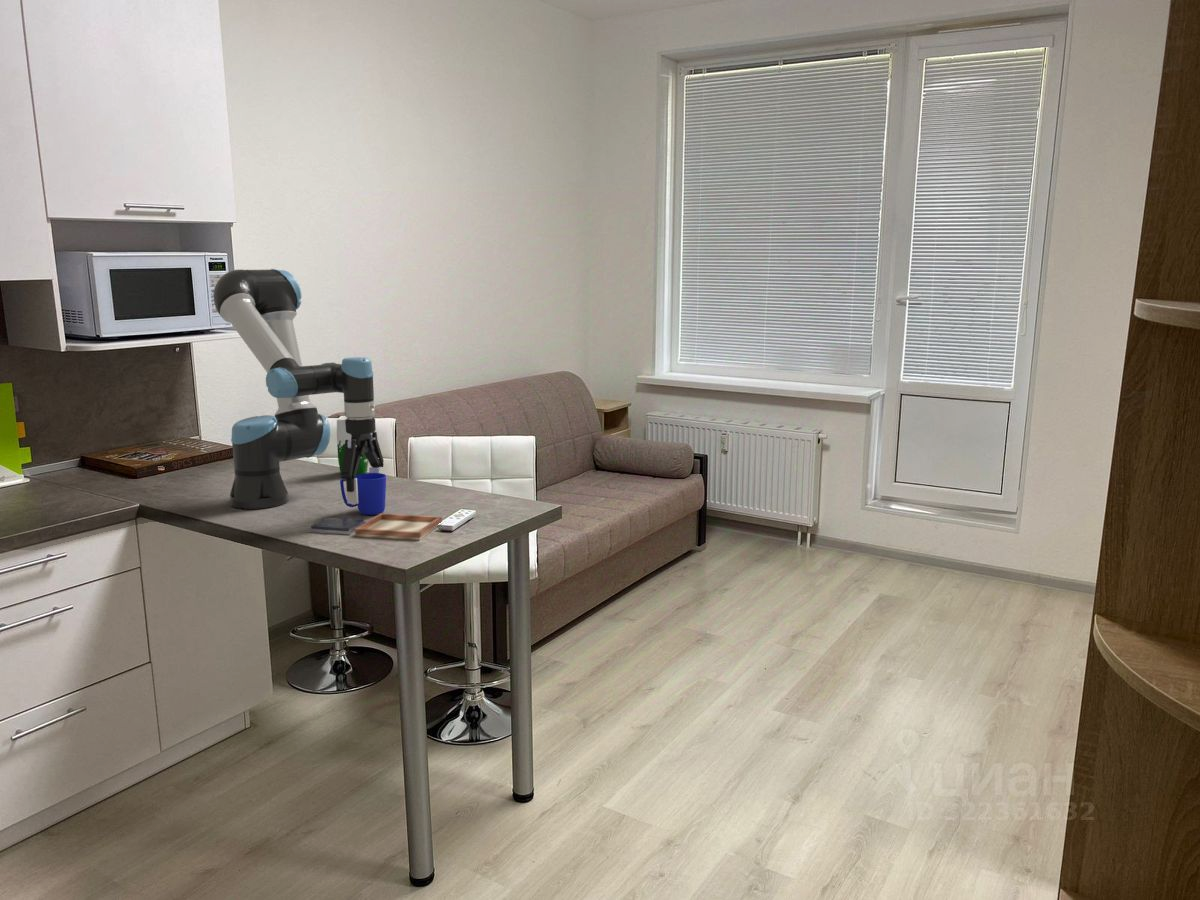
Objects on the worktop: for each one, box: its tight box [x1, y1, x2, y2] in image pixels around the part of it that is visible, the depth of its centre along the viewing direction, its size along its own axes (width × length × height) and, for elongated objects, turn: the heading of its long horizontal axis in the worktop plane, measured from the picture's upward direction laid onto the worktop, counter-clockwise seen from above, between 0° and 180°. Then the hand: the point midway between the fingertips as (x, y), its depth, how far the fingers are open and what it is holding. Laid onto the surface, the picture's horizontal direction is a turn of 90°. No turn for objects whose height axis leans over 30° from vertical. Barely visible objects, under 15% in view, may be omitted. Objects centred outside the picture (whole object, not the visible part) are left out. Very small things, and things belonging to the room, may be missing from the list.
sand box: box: [354, 512, 443, 541], centre depth 225 cm, size 17×15×2 cm
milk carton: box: [336, 415, 369, 475], centre depth 285 cm, size 9×9×20 cm
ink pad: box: [308, 517, 366, 535], centre depth 227 cm, size 11×9×1 cm
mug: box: [339, 472, 387, 516], centre depth 240 cm, size 8×12×10 cm
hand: (364, 497), depth 240 cm, fingers open, 13 cm apart
